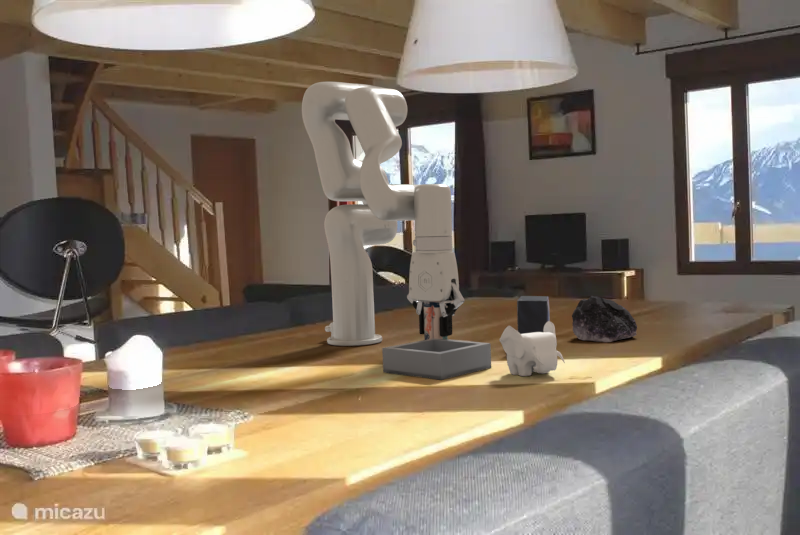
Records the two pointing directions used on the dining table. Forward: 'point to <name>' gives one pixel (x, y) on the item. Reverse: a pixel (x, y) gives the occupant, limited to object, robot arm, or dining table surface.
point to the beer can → (432, 320)
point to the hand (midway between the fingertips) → (435, 333)
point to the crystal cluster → (602, 320)
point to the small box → (532, 313)
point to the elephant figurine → (531, 350)
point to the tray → (436, 358)
